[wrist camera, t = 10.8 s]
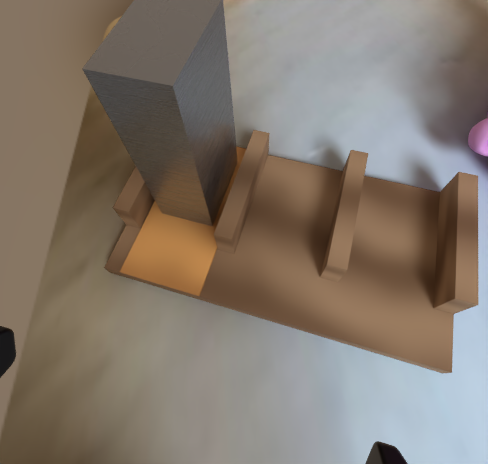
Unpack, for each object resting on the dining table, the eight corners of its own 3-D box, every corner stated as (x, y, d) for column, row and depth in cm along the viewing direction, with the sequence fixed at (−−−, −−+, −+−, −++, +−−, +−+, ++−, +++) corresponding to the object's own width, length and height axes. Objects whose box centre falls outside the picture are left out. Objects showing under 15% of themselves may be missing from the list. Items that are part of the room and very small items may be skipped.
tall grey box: (212, 226, 23) (172, 85, 12) (161, 213, 24) (82, 68, 13) (237, 161, 26) (222, -3, 15) (191, 151, 26) (144, -14, 15)
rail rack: (442, 373, 20) (478, 370, 16) (110, 272, 23) (86, 254, 20) (449, 203, 25) (477, 175, 21) (175, 142, 28) (165, 111, 25)
